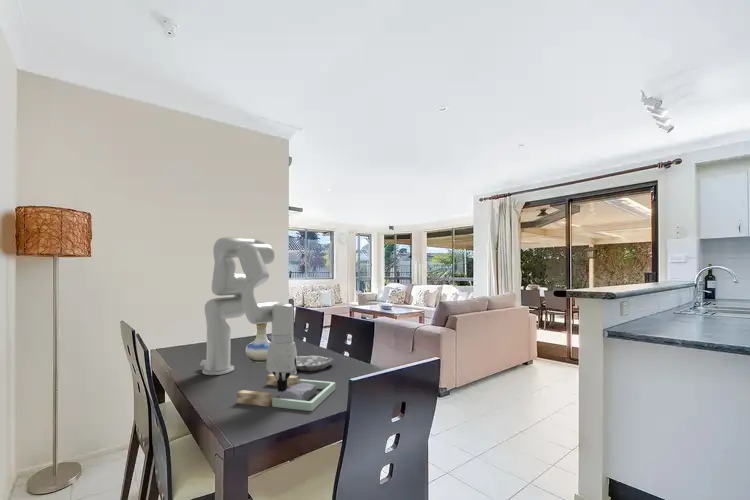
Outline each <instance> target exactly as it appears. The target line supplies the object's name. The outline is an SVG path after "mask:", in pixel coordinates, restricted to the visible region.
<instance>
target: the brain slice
mask: <svg viewBox="0 0 750 500" xmlns="http://www.w3.org/2000/svg"><path fill="white" fill-rule="evenodd" d="M334 360H335V359H334V358H333V357H325V356H321V355H305V356H304V355H299V356H298V355H297V368H296V370H299V371H305V372H306V371H307V372H314V371H321V370H324V369H327V368H328V367H330V366H331V364H332V363H333V362H334Z"/></svg>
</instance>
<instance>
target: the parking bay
mask: <svg viewBox="0 0 750 500" xmlns="http://www.w3.org/2000/svg"><path fill="white" fill-rule="evenodd" d="M301 383H308V384H312V385H316V388H317V390H321V391H320V392H319V393H318V394H317V395H316V396H315V397H313V399H311V400H309V401H308V400H307V401H303V400H293V399H284V398H279V397H273V399H272V405H271V407H273V408H282V409H290V410H299V411H300V410H301V411H307V412H312V411H315V409H316V408H317V407H318V406H319V405H320V404H321V403H323V402H324V400H325V399H327V398H328V396H330V395H331V394H332V393H334V391H335V390H336V382H335V381H327V380H326V381H325V380H314V379H313V380H312V379H304V378H300V379H299V384H301Z"/></svg>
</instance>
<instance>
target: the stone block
mask: <svg viewBox="0 0 750 500" xmlns="http://www.w3.org/2000/svg"><path fill="white" fill-rule="evenodd" d="M317 391H318V389H317V388H316V385H312V384H308V383H301V384H295V385H292V386H291V387H287V388H286V390H285V391H283V392H281V391H280V393H279V394H278V395H279V396H278V398H284V399H293V400H303V401H308V400H310V399H311V398H312V397H314V396H315V395H316V393H317Z"/></svg>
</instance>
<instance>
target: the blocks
mask: <svg viewBox="0 0 750 500" xmlns="http://www.w3.org/2000/svg"><path fill="white" fill-rule="evenodd" d="M299 380H300V379H299V375H292V376H289V378H287V388H289V387H291V386H292V385H295V384H299ZM266 382H267V383H266V385H267V386H277V380H276V377H275V376H274V375H273V374H271V373H269V374H267V377H266ZM236 397H237V398H236V402H237V404H242V405H251V406H260V407H261V406H262V407H271V406H272V399H273V398H274V393H273V392H266V391H265V392H264V391H256V390H245V389H240V390H239V391H237V392H236Z"/></svg>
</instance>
